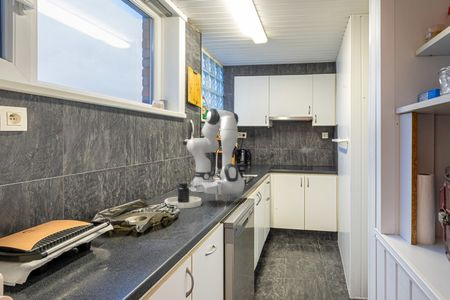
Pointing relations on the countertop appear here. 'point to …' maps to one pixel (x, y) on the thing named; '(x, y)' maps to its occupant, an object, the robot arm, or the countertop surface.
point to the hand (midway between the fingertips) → (195, 188)
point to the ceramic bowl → (191, 204)
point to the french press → (241, 170)
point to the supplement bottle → (183, 193)
